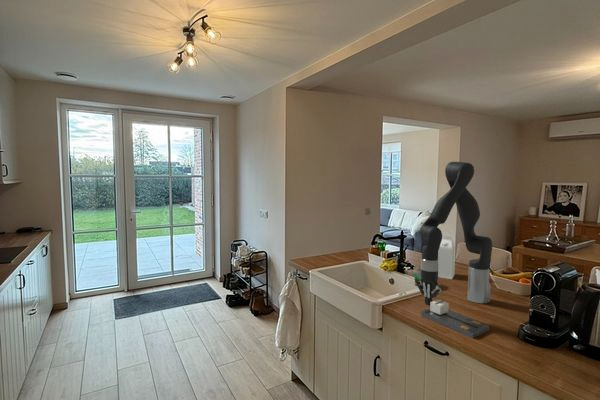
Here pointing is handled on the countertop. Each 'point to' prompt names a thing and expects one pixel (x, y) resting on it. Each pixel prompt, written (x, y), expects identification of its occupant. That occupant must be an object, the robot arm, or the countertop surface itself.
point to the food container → (417, 275)
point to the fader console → (457, 322)
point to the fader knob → (439, 306)
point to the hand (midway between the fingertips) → (428, 304)
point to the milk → (446, 258)
